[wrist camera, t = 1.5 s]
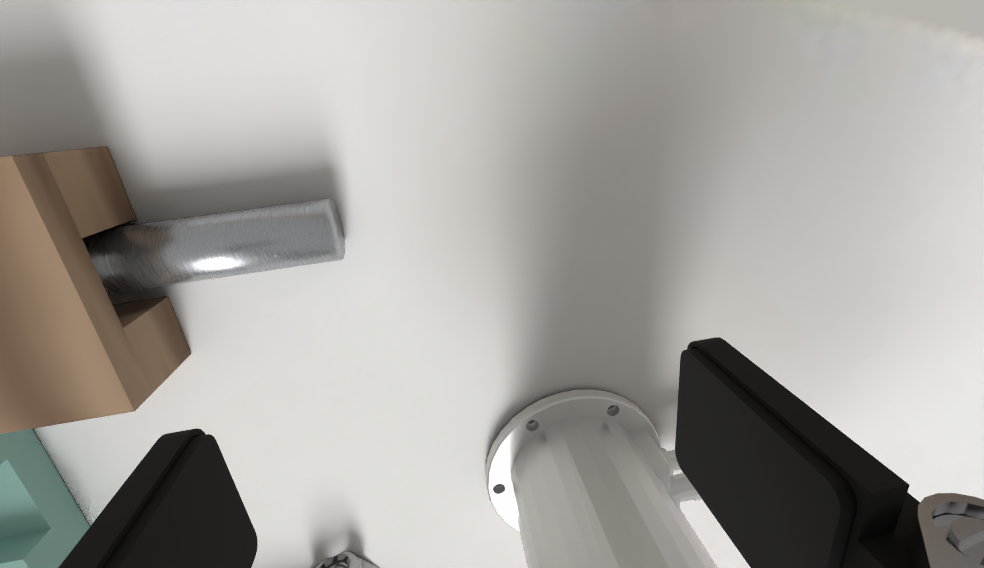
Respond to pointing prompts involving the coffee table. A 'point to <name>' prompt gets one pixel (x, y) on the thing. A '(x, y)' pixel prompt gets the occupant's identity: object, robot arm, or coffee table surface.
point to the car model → (346, 562)
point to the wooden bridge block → (71, 298)
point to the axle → (216, 245)
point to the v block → (34, 506)
